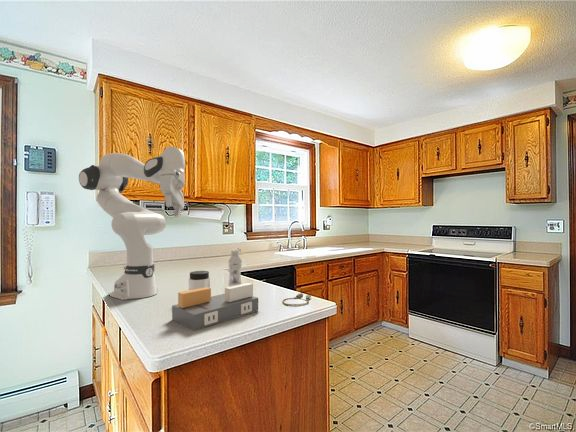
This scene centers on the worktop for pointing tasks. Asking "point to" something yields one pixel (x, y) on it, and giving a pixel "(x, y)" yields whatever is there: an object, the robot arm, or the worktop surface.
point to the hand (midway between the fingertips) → (172, 211)
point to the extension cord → (298, 298)
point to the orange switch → (194, 297)
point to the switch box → (213, 311)
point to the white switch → (238, 292)
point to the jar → (199, 280)
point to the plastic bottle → (235, 269)
